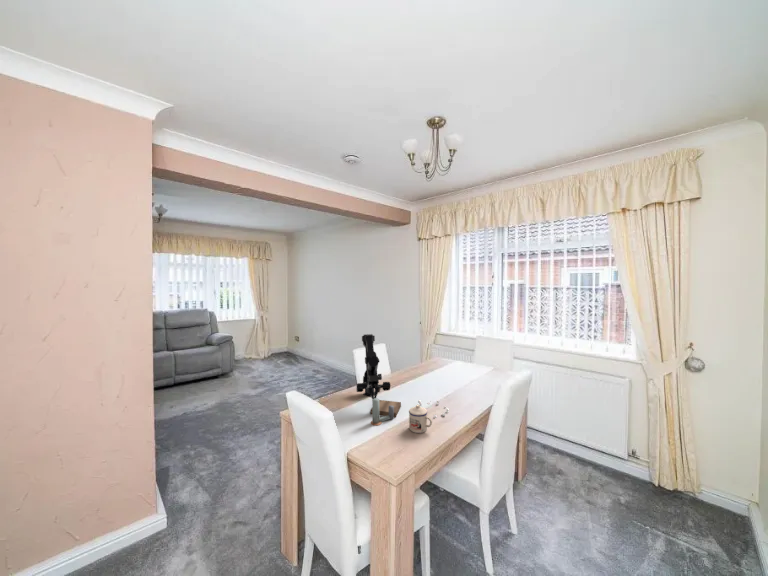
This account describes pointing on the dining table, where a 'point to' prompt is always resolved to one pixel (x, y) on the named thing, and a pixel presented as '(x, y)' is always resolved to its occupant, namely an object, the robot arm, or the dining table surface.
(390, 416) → the grey u-shaped piece
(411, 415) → the teacup with lid
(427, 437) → the dining table surface
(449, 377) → the dining table surface
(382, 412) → the stool seat
